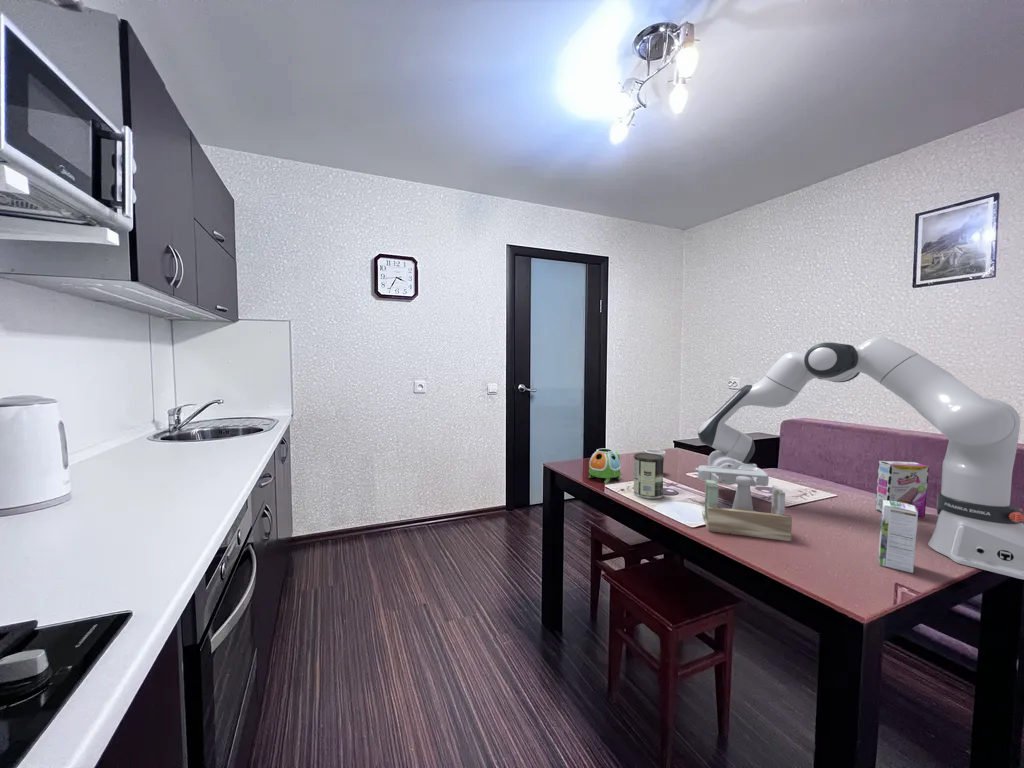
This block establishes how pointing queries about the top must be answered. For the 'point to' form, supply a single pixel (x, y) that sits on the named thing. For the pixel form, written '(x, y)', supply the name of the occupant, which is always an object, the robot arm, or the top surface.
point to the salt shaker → (743, 494)
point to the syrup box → (898, 536)
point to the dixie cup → (656, 452)
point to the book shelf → (747, 517)
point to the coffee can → (648, 475)
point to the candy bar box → (902, 484)
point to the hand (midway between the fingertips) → (736, 482)
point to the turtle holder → (605, 464)
